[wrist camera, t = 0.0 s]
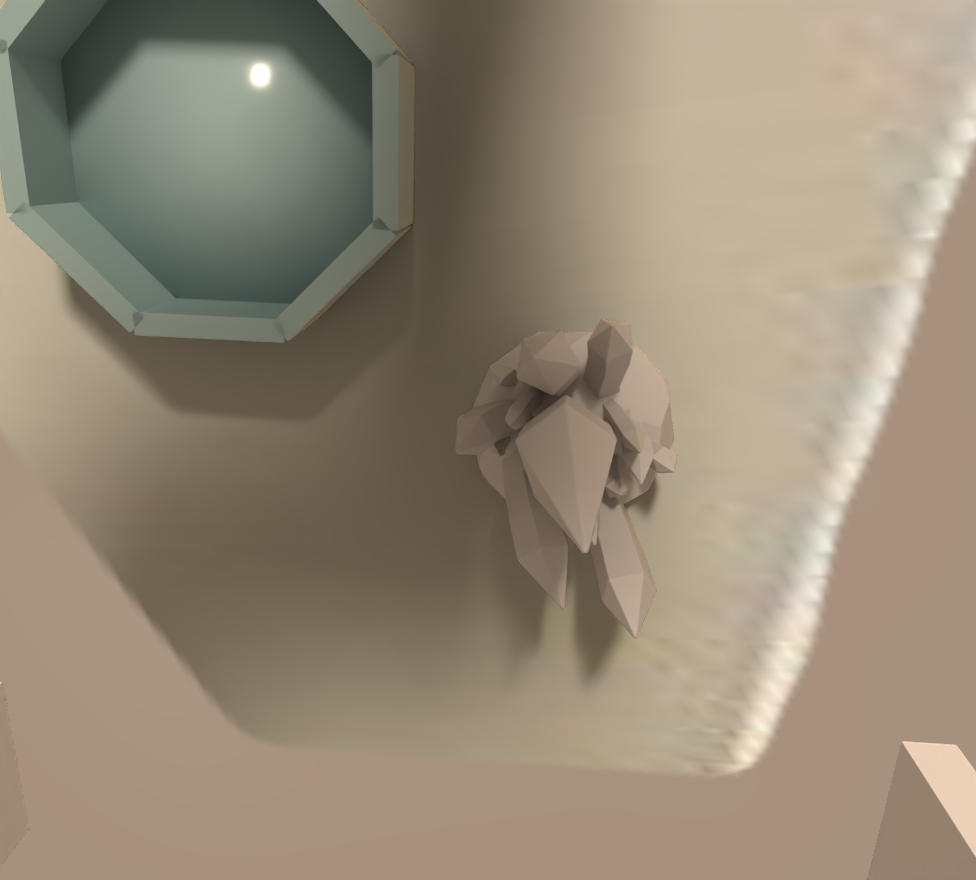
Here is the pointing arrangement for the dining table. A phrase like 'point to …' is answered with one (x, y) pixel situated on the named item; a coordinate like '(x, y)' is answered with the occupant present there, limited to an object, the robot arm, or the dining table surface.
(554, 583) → the crystal
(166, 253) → the bowl
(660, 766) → the dining table surface
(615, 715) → the dining table surface
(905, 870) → the robot arm
